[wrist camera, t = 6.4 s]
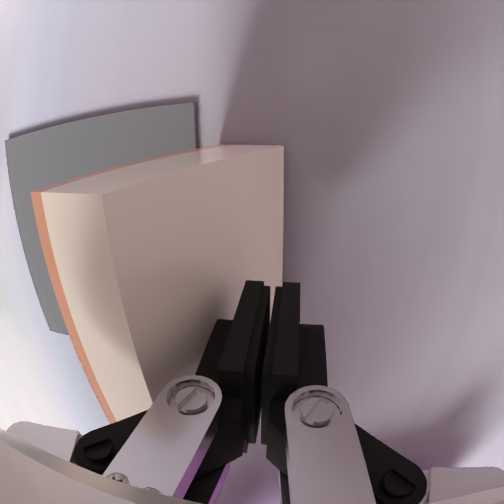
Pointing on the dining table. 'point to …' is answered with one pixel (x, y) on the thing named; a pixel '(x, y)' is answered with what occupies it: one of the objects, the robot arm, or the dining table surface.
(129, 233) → the tile
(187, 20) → the dining table surface
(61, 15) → the dining table surface
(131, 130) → the mat
